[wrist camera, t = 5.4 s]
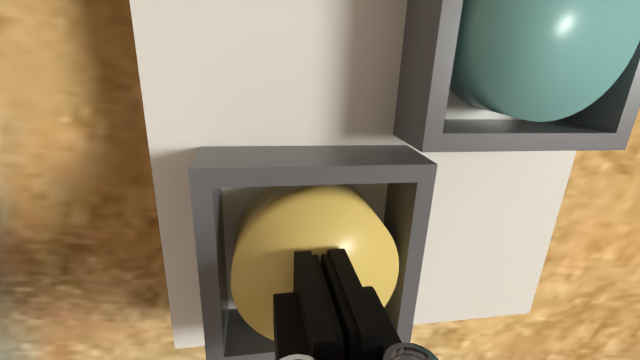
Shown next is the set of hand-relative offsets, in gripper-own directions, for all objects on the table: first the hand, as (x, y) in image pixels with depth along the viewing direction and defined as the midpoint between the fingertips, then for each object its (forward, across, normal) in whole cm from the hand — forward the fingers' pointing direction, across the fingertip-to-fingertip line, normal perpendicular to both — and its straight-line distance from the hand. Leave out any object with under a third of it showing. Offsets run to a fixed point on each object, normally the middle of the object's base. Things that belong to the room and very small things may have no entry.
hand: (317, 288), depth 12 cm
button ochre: (+3, 0, 0) cm, 3 cm away
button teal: (+2, -7, -8) cm, 11 cm away
